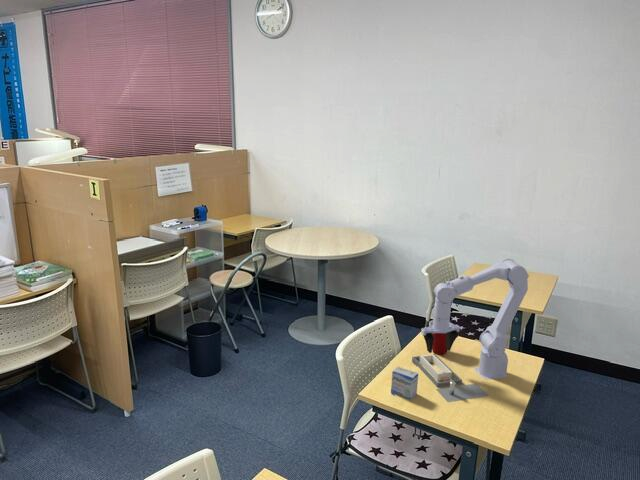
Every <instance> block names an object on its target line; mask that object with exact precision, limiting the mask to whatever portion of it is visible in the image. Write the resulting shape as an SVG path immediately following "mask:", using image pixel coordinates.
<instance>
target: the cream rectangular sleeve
mask: <svg viewBox="0 0 640 480" xmlns="http://www.w3.org/2000/svg"><path fill="white" fill-rule="evenodd" d="M433 354H434V353H432V354H431V353H429V354H423V355H419V356H420V362H419V363H420V364H421V365H422V366H423V367H424V368H425V369H426V370H427V371H428V372H429V373H430V374H431V375H432V377H433V378H434V379H435V380H436V381H437V382H445V381H450V379H452V377H453V376H452V372H451V371H450V370H449V369H448V368H447V367H446V366H445V365H444V364H443V363H442V362H441V361H440V360H441V359H440V358H439V357H438V356H437V355H436V354H435V355H436V356H437V357H438V358H439V359H440V360H439V359H438V358H437V357H436V356H435V355H433ZM430 362H432V363H433V365H434V366H435V367H436V368H437V369H438V370H439V371H440V372H439V371H438V370H437V369H436V368H435V367H434V366H433V365H431V364H430Z"/></svg>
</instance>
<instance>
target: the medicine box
mask: <svg viewBox="0 0 640 480" xmlns="http://www.w3.org/2000/svg"><path fill="white" fill-rule="evenodd" d="M391 372H392V374H391V375H392V376H391V385H390V394H391V395H397V396H400V397H403V398H406V399H408V400H413V399H414V398H415V397H416V395H417V394H418V393H417V392H418V384H419V382H418V381H419V373H418V372H415V371H412V370H409V369H406V368H403V367H400V366H396V367H395V368H394V369H393V370H392V371H391Z"/></svg>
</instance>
